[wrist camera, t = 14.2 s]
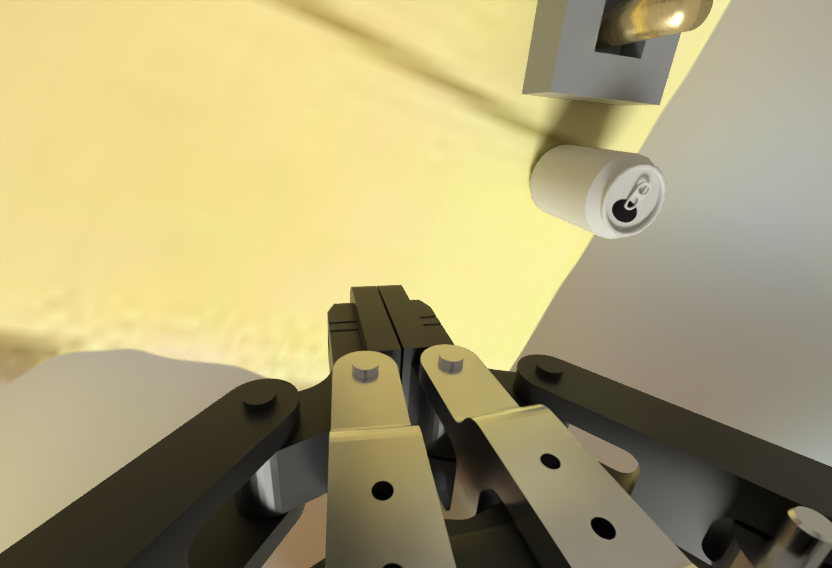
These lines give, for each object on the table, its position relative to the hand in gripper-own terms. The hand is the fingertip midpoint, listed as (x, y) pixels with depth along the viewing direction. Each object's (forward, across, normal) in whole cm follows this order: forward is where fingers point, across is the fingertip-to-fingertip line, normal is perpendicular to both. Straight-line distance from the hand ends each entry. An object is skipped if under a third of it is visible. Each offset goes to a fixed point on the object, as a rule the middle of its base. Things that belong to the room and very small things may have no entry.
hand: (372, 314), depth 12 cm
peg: (+26, -25, -14) cm, 39 cm away
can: (+29, -25, 0) cm, 38 cm away
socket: (+28, -25, -14) cm, 41 cm away
